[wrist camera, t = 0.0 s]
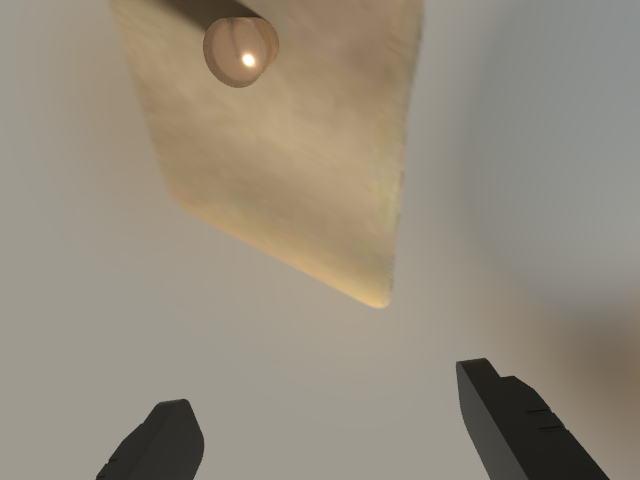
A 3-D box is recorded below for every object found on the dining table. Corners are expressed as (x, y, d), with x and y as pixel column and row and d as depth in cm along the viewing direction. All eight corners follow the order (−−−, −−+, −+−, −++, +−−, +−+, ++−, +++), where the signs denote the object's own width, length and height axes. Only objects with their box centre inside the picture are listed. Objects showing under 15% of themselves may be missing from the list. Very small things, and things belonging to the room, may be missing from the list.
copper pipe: (231, 47, 30) (193, 61, 20) (251, 6, 28) (219, 1, 18) (265, 74, 31) (245, 99, 22) (286, 37, 29) (275, 47, 20)
